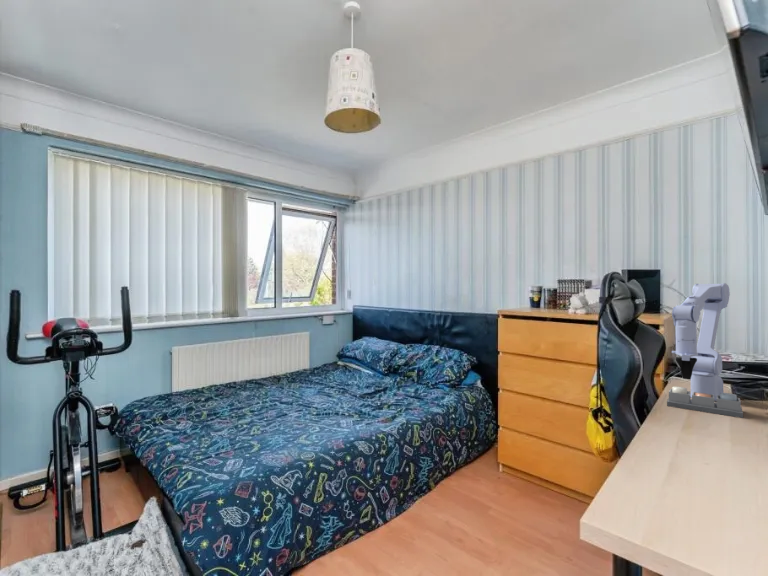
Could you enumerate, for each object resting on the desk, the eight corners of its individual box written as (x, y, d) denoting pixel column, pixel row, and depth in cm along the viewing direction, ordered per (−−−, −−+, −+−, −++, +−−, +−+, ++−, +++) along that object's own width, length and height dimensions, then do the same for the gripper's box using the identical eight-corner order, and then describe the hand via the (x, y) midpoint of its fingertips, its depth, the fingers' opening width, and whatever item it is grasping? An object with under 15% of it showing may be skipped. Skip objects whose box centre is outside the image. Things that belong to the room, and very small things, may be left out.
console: (667, 405, 127) (666, 392, 127) (669, 400, 134) (669, 387, 134) (743, 418, 114) (742, 403, 114) (741, 411, 121) (741, 397, 121)
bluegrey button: (720, 403, 120) (719, 394, 120) (720, 401, 123) (719, 392, 123) (737, 406, 117) (736, 396, 117) (736, 403, 120) (736, 394, 120)
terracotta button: (695, 403, 124) (695, 394, 124) (695, 400, 127) (695, 392, 127) (711, 405, 121) (711, 396, 121) (711, 403, 124) (711, 394, 124)
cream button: (671, 396, 128) (671, 388, 128) (672, 394, 131) (672, 385, 131) (686, 398, 125) (686, 390, 125) (687, 396, 128) (687, 387, 128)
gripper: (672, 336, 137) (673, 373, 136) (670, 340, 126) (671, 380, 125) (697, 338, 132) (698, 376, 132) (697, 342, 121) (698, 383, 121)
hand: (686, 378), depth 128 cm, fingers closed
